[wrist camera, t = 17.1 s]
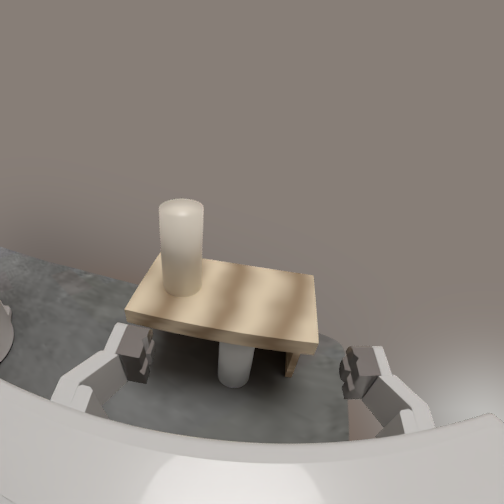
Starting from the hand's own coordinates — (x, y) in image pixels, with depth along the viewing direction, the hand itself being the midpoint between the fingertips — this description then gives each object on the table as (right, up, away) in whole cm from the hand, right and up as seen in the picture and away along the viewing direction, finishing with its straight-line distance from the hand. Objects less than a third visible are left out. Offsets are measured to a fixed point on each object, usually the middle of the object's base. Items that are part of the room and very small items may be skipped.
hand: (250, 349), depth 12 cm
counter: (-4, -13, +31) cm, 34 cm away
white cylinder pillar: (-3, -14, +30) cm, 33 cm away
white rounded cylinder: (-8, 0, +24) cm, 25 cm away
